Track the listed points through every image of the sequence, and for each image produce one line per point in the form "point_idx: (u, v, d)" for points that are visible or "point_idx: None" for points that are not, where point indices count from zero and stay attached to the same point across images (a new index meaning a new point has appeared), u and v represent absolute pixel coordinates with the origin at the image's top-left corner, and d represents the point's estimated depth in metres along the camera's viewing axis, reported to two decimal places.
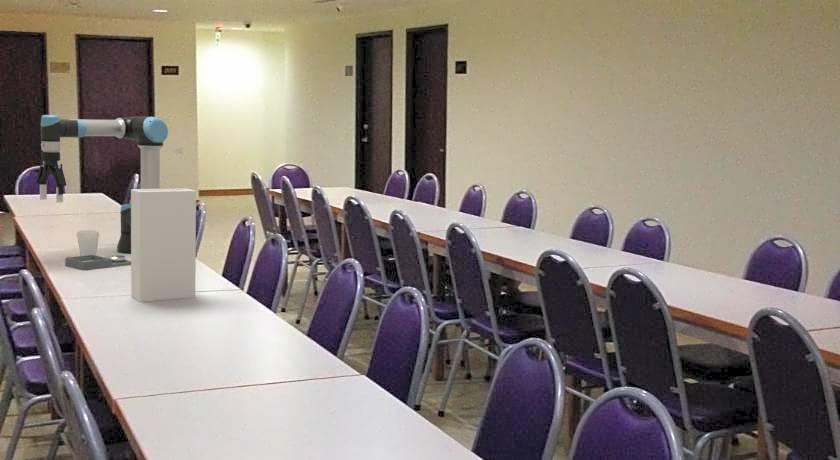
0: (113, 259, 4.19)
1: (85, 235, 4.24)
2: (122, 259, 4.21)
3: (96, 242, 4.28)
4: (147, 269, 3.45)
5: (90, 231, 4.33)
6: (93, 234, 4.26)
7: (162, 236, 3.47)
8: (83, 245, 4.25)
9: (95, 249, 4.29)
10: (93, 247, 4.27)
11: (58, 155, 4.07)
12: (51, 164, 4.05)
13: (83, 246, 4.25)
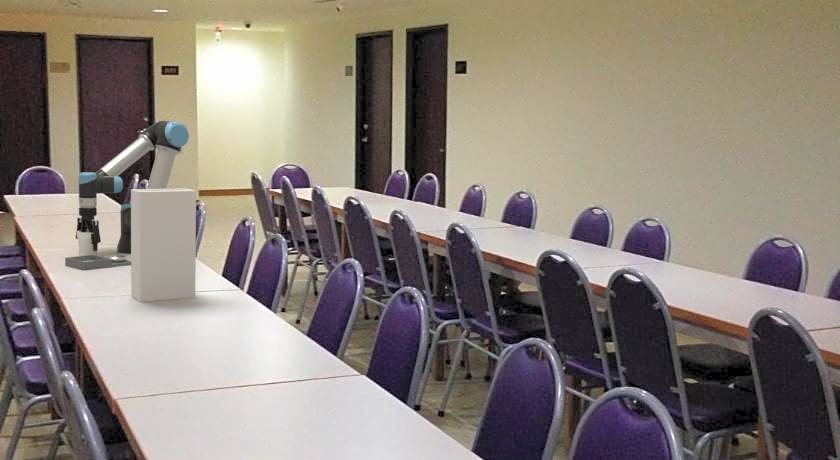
0: (113, 259, 4.19)
1: (85, 235, 4.24)
2: (122, 259, 4.21)
3: None
4: (147, 269, 3.45)
5: None
6: None
7: (162, 236, 3.47)
8: (83, 245, 4.25)
9: None
10: None
11: (95, 210, 4.26)
12: (88, 219, 4.25)
13: (83, 246, 4.25)
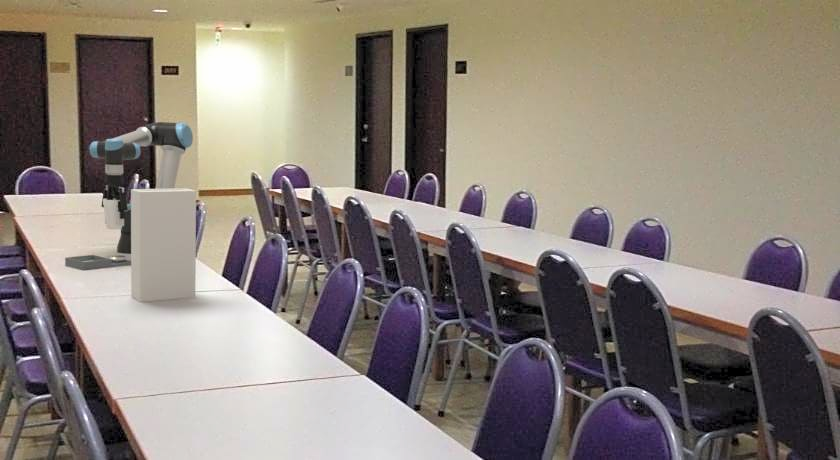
0: (113, 259, 4.19)
1: (111, 203, 4.16)
2: (122, 259, 4.21)
3: None
4: (147, 269, 3.45)
5: None
6: None
7: (162, 236, 3.47)
8: (109, 213, 4.17)
9: None
10: None
11: (121, 178, 4.18)
12: (115, 187, 4.17)
13: (109, 214, 4.17)
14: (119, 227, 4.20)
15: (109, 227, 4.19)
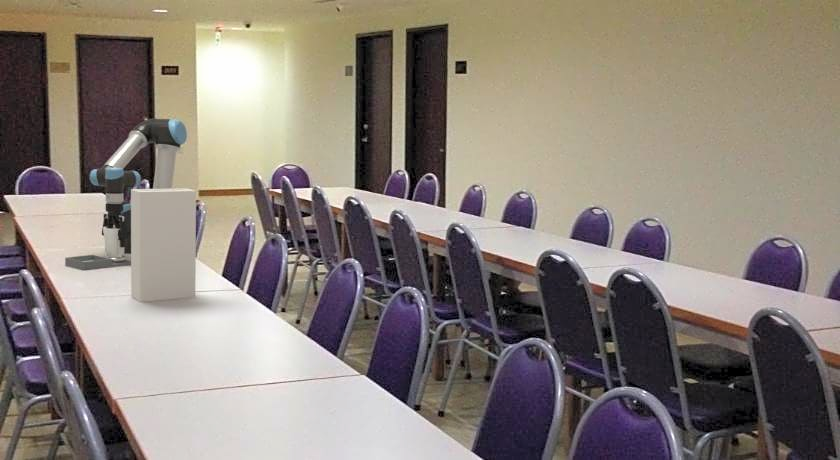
0: (113, 259, 4.19)
1: (112, 231, 4.17)
2: (122, 259, 4.21)
3: None
4: (147, 269, 3.45)
5: None
6: None
7: (162, 236, 3.47)
8: (109, 241, 4.18)
9: None
10: None
11: (122, 206, 4.20)
12: (115, 215, 4.19)
13: (109, 242, 4.18)
14: (119, 255, 4.22)
15: (109, 255, 4.20)
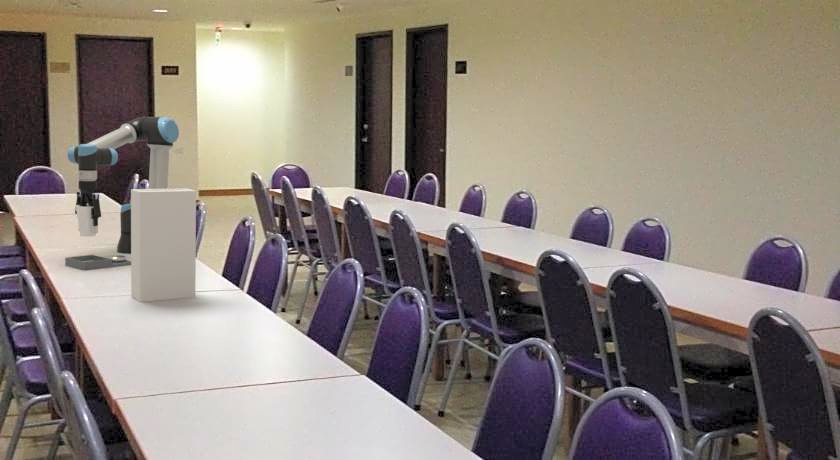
0: (113, 259, 4.19)
1: (85, 209, 4.06)
2: (122, 259, 4.21)
3: None
4: (147, 269, 3.45)
5: None
6: None
7: (162, 236, 3.47)
8: (82, 220, 4.07)
9: None
10: None
11: (95, 184, 4.08)
12: (88, 193, 4.07)
13: (82, 221, 4.07)
14: (93, 234, 4.10)
15: (82, 234, 4.09)
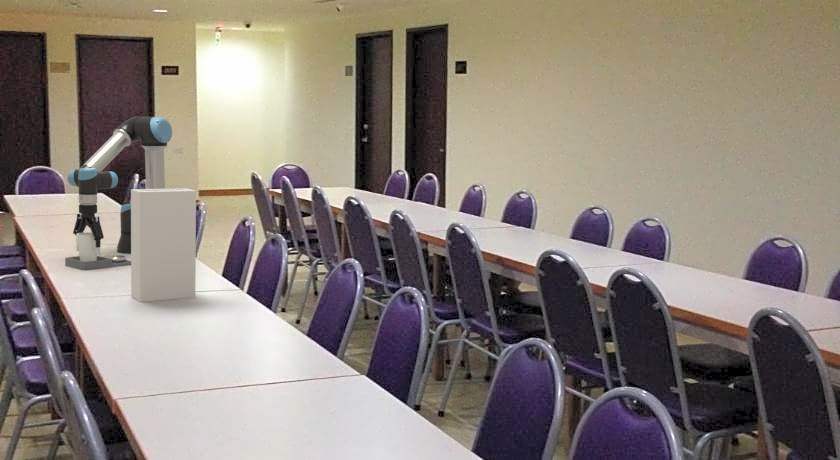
0: (113, 259, 4.19)
1: (85, 237, 4.08)
2: (122, 259, 4.21)
3: None
4: (147, 269, 3.45)
5: (90, 233, 4.16)
6: (93, 236, 4.09)
7: (162, 236, 3.47)
8: (83, 248, 4.09)
9: None
10: (93, 250, 4.11)
11: (95, 208, 4.10)
12: (88, 217, 4.09)
13: (83, 249, 4.09)
14: None
15: None
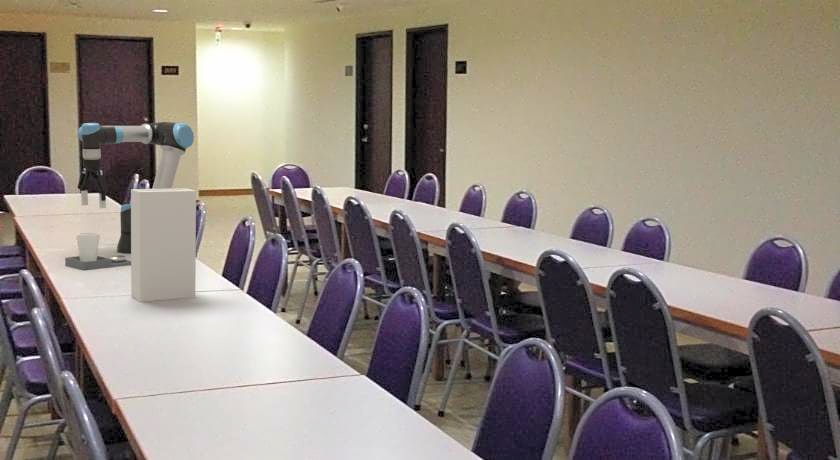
0: (113, 259, 4.19)
1: (85, 238, 4.08)
2: (122, 259, 4.21)
3: (96, 245, 4.12)
4: (147, 269, 3.45)
5: (90, 234, 4.16)
6: (93, 237, 4.09)
7: (162, 236, 3.47)
8: (83, 248, 4.09)
9: (95, 252, 4.12)
10: (93, 250, 4.11)
11: (99, 162, 4.17)
12: (93, 171, 4.16)
13: (83, 249, 4.09)
14: None
15: None
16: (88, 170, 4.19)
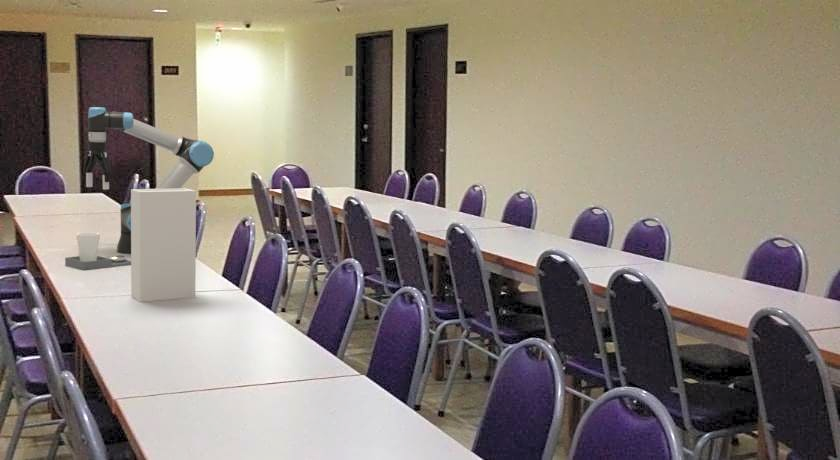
0: (113, 259, 4.19)
1: (85, 238, 4.08)
2: (122, 259, 4.21)
3: (96, 245, 4.12)
4: (147, 269, 3.45)
5: (90, 234, 4.16)
6: (93, 237, 4.09)
7: (162, 236, 3.47)
8: (83, 248, 4.09)
9: (95, 252, 4.12)
10: (93, 250, 4.11)
11: (104, 145, 4.32)
12: (98, 153, 4.31)
13: (83, 249, 4.09)
14: None
15: None
16: (93, 152, 4.33)
